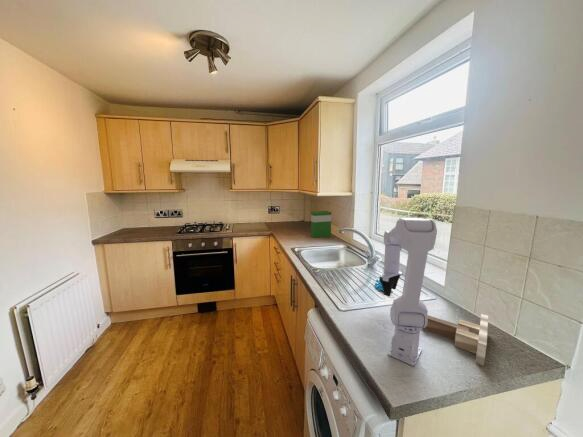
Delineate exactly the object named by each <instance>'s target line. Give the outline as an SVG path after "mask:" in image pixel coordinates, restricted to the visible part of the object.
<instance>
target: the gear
mask: <svg viewBox="0 0 583 437" xmlns="http://www.w3.org/2000/svg"><path fill="white" fill-rule="evenodd" d="M380 277H383V274H382V276H381V275H379V276H378V279H376V280H375V283H374V286H375V290H378V291H383V287H382V284H381V282H380ZM393 292H394V291H393V289H392V290H391V294H393Z"/></svg>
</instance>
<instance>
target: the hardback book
mask: <svg viewBox="0 0 583 437" xmlns="http://www.w3.org/2000/svg"><path fill="white" fill-rule="evenodd" d="M310 237H312V238H314V239H320V238H328V237H332V211H329V210H320V211H319V210H317V211H310Z"/></svg>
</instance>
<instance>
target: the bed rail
mask: <svg viewBox="0 0 583 437" xmlns="http://www.w3.org/2000/svg"><path fill="white" fill-rule="evenodd" d="M427 317H428V323H427V326H426V327H425V328H422V330H425V331H427V332H430V333H433V334H436V335H439V336H441V337H445V338H448V339H451V340H453V341H455V335H456V330H457V328H459V329H462V330H465V331H468V332H469V328H467V327H464V326H461V325H458V323H454V322H451V321H449V320H448V321H447V320H444V319H441V318H439V317H435V316H432V315H429V314H427Z"/></svg>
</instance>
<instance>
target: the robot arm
mask: <svg viewBox="0 0 583 437" xmlns="http://www.w3.org/2000/svg"><path fill="white" fill-rule="evenodd" d="M437 228H438V227H437V224H436V221H435V220H434V219H433V218H403V217H399V218H398V219H397V221H396V224H395V226H394V227H393V228H392V229H391V230H390V231H389V230H385V231H384V232H383V233H384V234H383V245H384V256H383V257H384V258H383V261H384V263H383V270H382V272H383V274H382V275H383V277H382V276H381V277H380V279H379V280H380V282H381V284H382V287H383V290H382V291H383V295H384V296H387V297H390V296H391V294H392V292H391V290H392V291H393V290H396V288H397V286H398V283H399V279H400V277H401V276H402V274H403V272H402V271H400V262H401V261H400V260H401V251H402V249H403V251H404V250H405V251H406V252H407V260H406V267H405V272H404V273H405V275H404V279H403V281H404V282H403V286H402V292H401V293H402V295H401V296H399V297H397V298H395V299H393V301H392V305H391V307H390V310H389V311H390V314H389V315H390V321H391V323H392V325H393V326H394V334H393V336H392V338H391V347H390V349H389V350H388V352H387V355H388V356H390V357H391V358H394V359H397V360H398V361H401V362H404V363H407V364H408V365H410V366H413V367H415V366H416V365H417V362H418V360H419V357H420V354H421V353H422V350H423V349H422V348H421V347H419V345H420V337H421V336H420V335H421V334H420V333H421V332H423V329H422V328H425V327H426V326H427V323H428V317H427V315H428V314H429V313H428V308H427V306H426V304H425V303H424V302H423V301H422V300H421V299H420V298H421V292H422V287H423V282H424V281H423V280H424V277H425V276H424V275H425V272H426V264H427V260H428V254H429V252H430V251H432V250H433V249H435V244H436V239H437V235H438V229H437Z"/></svg>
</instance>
